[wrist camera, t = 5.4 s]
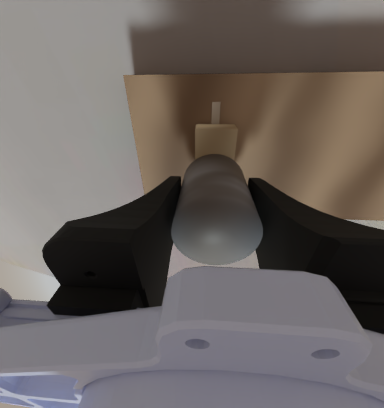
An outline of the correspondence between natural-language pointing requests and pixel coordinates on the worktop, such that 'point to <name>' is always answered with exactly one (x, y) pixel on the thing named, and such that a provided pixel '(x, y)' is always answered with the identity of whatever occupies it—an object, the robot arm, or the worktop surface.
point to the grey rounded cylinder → (215, 202)
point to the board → (272, 132)
